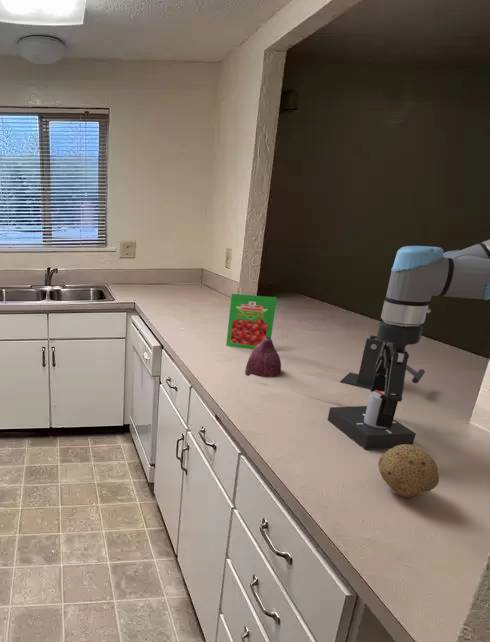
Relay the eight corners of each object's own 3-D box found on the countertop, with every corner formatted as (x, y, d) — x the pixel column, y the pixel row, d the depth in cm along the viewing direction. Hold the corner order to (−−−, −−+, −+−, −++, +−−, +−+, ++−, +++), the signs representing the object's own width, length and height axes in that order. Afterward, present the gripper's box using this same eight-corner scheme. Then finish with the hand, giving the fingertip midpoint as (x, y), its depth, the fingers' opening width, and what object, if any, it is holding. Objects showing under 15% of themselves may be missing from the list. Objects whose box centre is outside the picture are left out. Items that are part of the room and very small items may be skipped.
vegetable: (274, 391, 133) (287, 351, 124) (240, 381, 137) (250, 342, 128) (281, 373, 140) (293, 334, 131) (248, 364, 144) (258, 325, 135)
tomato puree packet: (225, 346, 165) (231, 294, 158) (226, 345, 166) (232, 293, 159) (268, 351, 158) (276, 297, 151) (269, 350, 159) (276, 297, 152)
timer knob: (394, 428, 97) (402, 398, 94) (373, 429, 97) (380, 399, 94) (379, 417, 102) (386, 389, 99) (358, 418, 101) (365, 390, 99)
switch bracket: (394, 387, 127) (407, 338, 122) (386, 397, 120) (399, 347, 115) (349, 376, 135) (358, 330, 130) (338, 385, 128) (348, 338, 123)
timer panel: (412, 447, 96) (416, 432, 95) (364, 449, 95) (368, 434, 94) (369, 418, 109) (372, 404, 108) (327, 419, 108) (330, 406, 107)
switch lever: (420, 376, 121) (427, 370, 120) (414, 385, 115) (421, 379, 114) (372, 340, 127) (379, 334, 126) (364, 347, 121) (371, 341, 120)
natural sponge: (360, 482, 84) (371, 437, 81) (398, 475, 86) (410, 431, 83) (402, 512, 76) (416, 463, 73) (442, 504, 78) (458, 456, 74)
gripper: (438, 340, 79) (409, 442, 86) (412, 311, 100) (390, 395, 107) (388, 335, 82) (365, 434, 89) (373, 308, 103) (355, 390, 110)
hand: (379, 413), depth 98 cm, fingers open, 13 cm apart
